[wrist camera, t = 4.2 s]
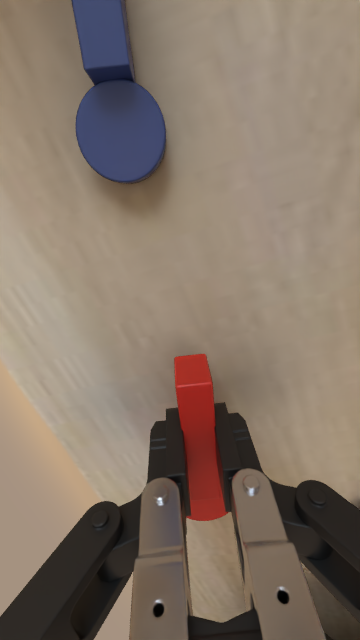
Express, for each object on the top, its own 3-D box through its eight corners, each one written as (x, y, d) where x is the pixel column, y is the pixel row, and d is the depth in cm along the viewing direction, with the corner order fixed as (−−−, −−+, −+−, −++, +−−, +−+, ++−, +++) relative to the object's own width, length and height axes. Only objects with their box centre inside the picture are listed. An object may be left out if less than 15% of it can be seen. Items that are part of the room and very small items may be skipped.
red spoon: (153, 358, 13) (151, 389, 11) (226, 350, 13) (237, 379, 11) (177, 502, 17) (178, 545, 15) (232, 496, 17) (241, 538, 15)
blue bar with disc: (19, -181, 8) (-27, -299, 6) (130, -194, 8) (120, -315, 6) (93, 187, 12) (79, 186, 10) (170, 179, 12) (171, 176, 10)
